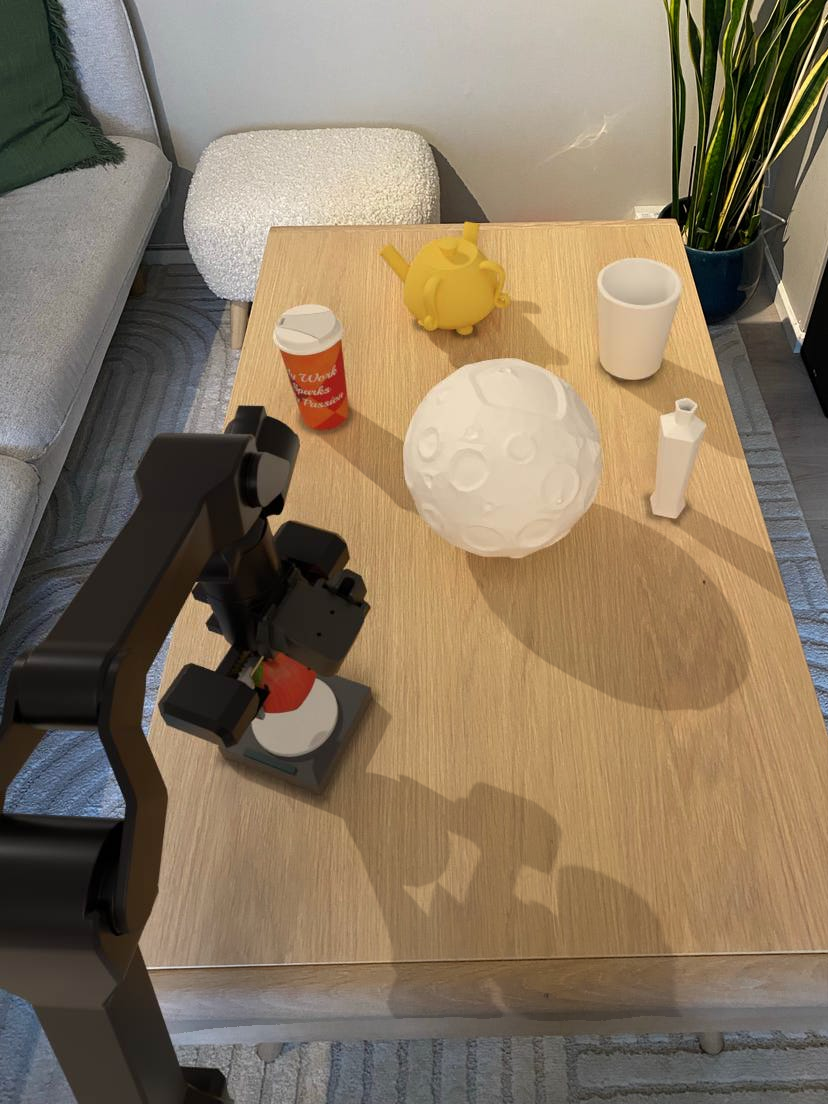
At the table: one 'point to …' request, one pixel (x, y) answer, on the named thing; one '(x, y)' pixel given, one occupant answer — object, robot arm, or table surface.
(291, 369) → the paper cup
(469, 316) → the teapot
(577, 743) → the table surface
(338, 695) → the scale
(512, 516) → the decorative sphere
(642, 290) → the cup
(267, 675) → the spotted red fruit
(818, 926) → the table surface
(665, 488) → the white faceted vase
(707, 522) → the table surface
